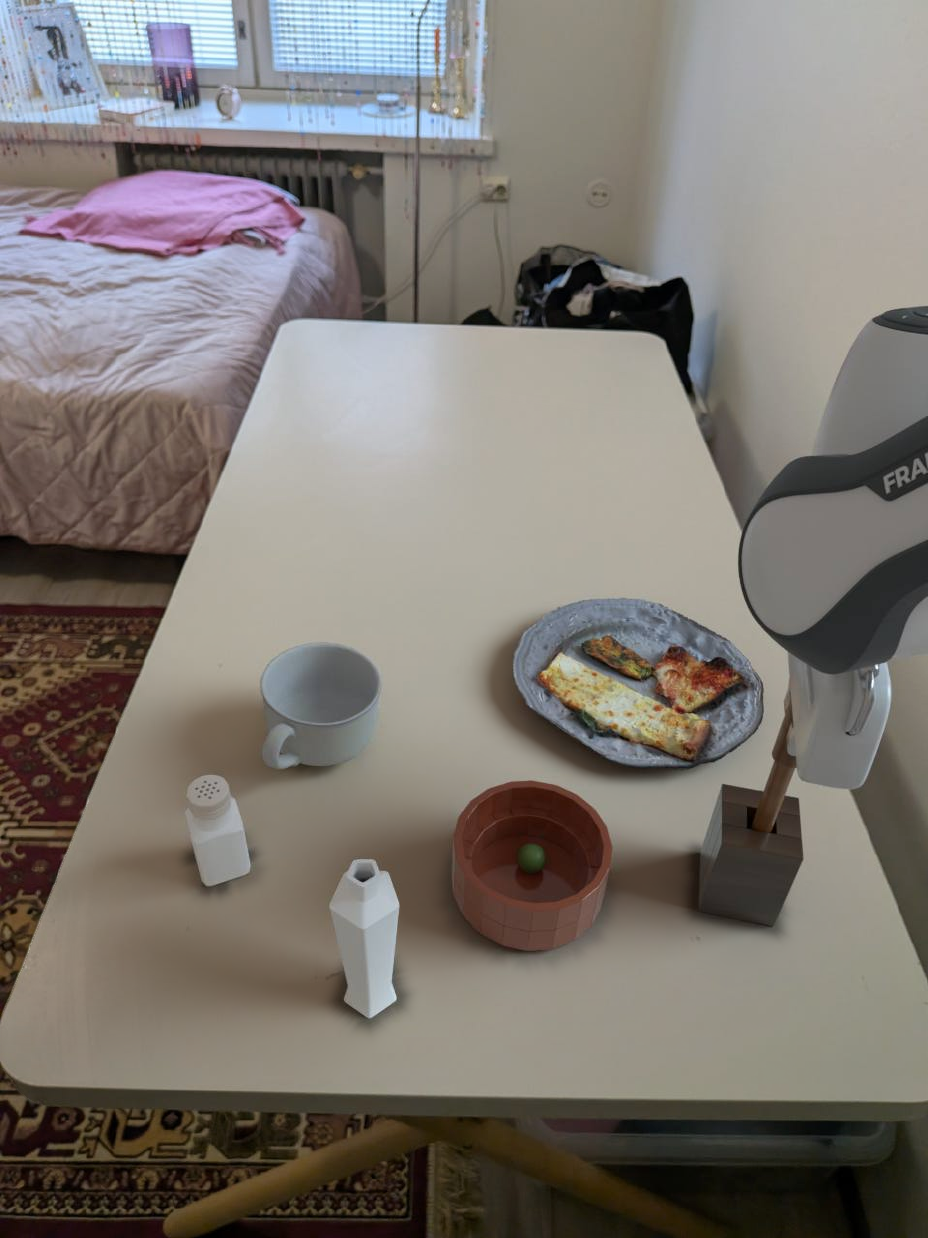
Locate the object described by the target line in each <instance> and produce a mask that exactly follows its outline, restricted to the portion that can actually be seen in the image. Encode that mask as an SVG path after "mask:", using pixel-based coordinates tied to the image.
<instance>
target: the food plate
mask: <svg viewBox="0 0 928 1238" xmlns="http://www.w3.org/2000/svg"><path fill="white" fill-rule="evenodd" d="M668 607H669V606H665V605H663V604H661V603H658V602H653V601H650V600H645V599H644V598H641V599H640V598H627V597H619V598H591V599H582V600H579V601H575V602H571V603H568V604H566V605H563V606H558V607H557V608H556V609H553V610H551V611H550V612H548V613H547V614H546V615H544V616H543V617H542V618H540V619H539V620H538V621H537V622H535V623H534V624H533V625H531V626H530V627H529V628H527V629H526V630H525V631H523V632H522V634H521V635H520V638H519V641H518V644H517V645H516V646H517V647H516V649H515V651H514V652H513V653H514V654H513V661H512V671H513V678H514V680H515V685H516V686H517V689H518V691H519V692H520V694H521V696H522V697H523V699H524V700H525V703H526V705H527V706H528V708H530V709H531V710H533V711H535V712H536V713H537V714H539V715H540V716H542V717H543V718H545V719H546V720H548V721H549V722H550V723H551V724H553V725H555V726H556V728H558V729H561V731H563V732H565V733H566V734H568V735H569V736H570V737H572V738H575V739H576V740H578V742H580V743H582V745H585V746H586V747H589V748H590V749H591V750H593V751H594V752H596V753H597V754H599V755H600V756H601V757H603V758H604V759H607V760H610V761H612V762H615V763H617V764H620V765H621V766H625V767H626V766H628V767H630V768H633V769H643V770H652V769H655V770H658V769H659V770H660V769H663V770H667V769H668V770H673V769H674V770H676V769H678V770H680V769H681V770H689V769H693V768H694V767H695V768H696V767H698V766H700V765H704V764H705V765H706V764H709V763H711V764H712V763H715V762H717V761H719V760H722V759H723V758H725V757H726V756H727V755H729V754H730V753H732V752H734V751H735V750H736V749H738V747H740V746H741V745H742V744H744V743H746V742H747V741H748V740H749V739H750V738H751V737H752V736H754V735H755V734H756V732H757V731H758V729H759V728H760V726H761V724H762V722H763V718H764V712H765V707H764V704H765V703H764V691H765V688H764V683H763V681H762V679H761V677H760V675H759V674H758V673H757V671H756V670H755V669H754V668H753V667H752V664H751V663H752V662H750V661H749V658H747V657H746V656H745V655H744V654H743V653H742V651H740V650H739V648H737V647H736V646H735V644H734V643H733V642H732V641H731V640H730V639H728V638H727V637H725V636H723V635H721V634H718V633H717V632H716V631H714V630H712V629H709V628H708V627H706V626H704V625H702V624H700V623H699V622H697V621H695V620H693V619H691V618H688V616H685V615H684V614H682V613H680V612H677V611H675V610H673V609H671V608H668Z"/></svg>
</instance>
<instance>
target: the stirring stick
mask: <svg viewBox="0 0 928 1238" xmlns="http://www.w3.org/2000/svg"><path fill="white" fill-rule="evenodd" d="M791 722H793V714H792V701H791V699H790V702H789V705H788V707H787V710H786V713H785V712H784V716H783V719H782V722H781V725H780V728H779V731H778V734H777V737H776V739H775V742H774V744H773V745H774V746H773V748H772V751H771V757H772V759H773V764H772V766H771V769H770V772H769V775H768V777H767V780H766V783H765V786H764V789H763V791H764V792H763V794H762V797H761V800H760V803H759V806H758V809H757V811H756V814H755V817H754V820H753V823H752V826H751V828H750V829H752V830H757V831H762V832H767V833H771V831H772V829H773V826H774V823H775V821H776V818H777V815H778V813H779V810H780V807H781V805H782V802H783V799H784V797H785V795H787V791H788V788H789V786H790V784H791V781H792V778H793V775H794V773H795V770H796V769H797V763H796V756H791V755H790V754H788V751H787V733H788V731H789V727H790V725H791Z"/></svg>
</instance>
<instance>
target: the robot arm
mask: <svg viewBox="0 0 928 1238" xmlns="http://www.w3.org/2000/svg"><path fill="white" fill-rule="evenodd" d="M831 388H832V389H831V390H830V394H829V397H828V400H827V402H826V405H825V408H824V410H823V414H822V416H821V420H820V424H819V427H818V429H817V433H816V435H815V439H814V444H813V447H812V451H811V455H805V456H800V457H797V458H795V459H793V460H792V461H789V462H788V463H787V464H786V465H784V467H783V468H782V469H781V471H780V472H778V473H777V474H776V475H775V476H774V478H773V479H772V480H771V481H770V483H769V484H768V485H767V486H766V488H765V489H764V490H763V492H762V493H761V495H760V496H759V497H758V499H757V501H756V502H755V504H754V506H753V508H752V509H751V511H750V513H749V516H747V519H746V522H745V524H744V526H743V529H742V531H741V535H740V539H739V544H738V552H737V553H738V555H737V572H738V579H739V585H740V590H741V593H742V596H743V599H744V602H745V605H746V607H747V609H748V611H749V612H750V614H751V616H752V617H753V619H754V620H755V622H756V623H757V624H758V625H759V626H760V628H761V629H762V630H763V631H764V632H765V633H766V634H767V635H768V636H769V637H770V638H771V639H772V640H773V641H774V642H776V643H777V645H779V646H780V647H781V648H783V650H785V651H786V652H787V662H788V663H787V664H788V676H789V677H788V684H787V686H788V687H787V690H786V693H785V696H784V699H783V710H784V711H783V712H784V714H785V713H786V710H787V707H788V705H789V702H790V699H791V701H792V714H793V722H791V725H790V727H789V731H788V733H787V751H788V754H790V755H791V756H796V763H797V768H796V773H797V776H798V778H799V779H800V780H801V781H803V782H805V783H809V784H813V785H816V786H821V787H825V788H831V789H837V790H838V789H840V790H855V789H859V788H860V787H862V786H863V785H864V784H865V782H866V780H867V778H868V776H869V773H870V770H871V767H872V765H873V762H874V760H875V756H876V755H877V751H878V749H879V746H880V743H881V740H882V737H883V733H884V732H885V728H886V724H887V722H888V717H889V714H890V709H891V705H892V682H891V681H892V679H891V675H890V670H889V666H888V662H889V661H890V660H891V661H892V660H897V659H904V658H910V657H916V656H921V655H922V656H923V655H928V305H921V306H920V305H919V306H912V307H911V306H910V307H901V308H895V309H890V310H887V311H884V312H883V313H881V314H879V315H877V316H874V317H873V318H871V319H869V320H868V322H867V323H866V324H865V325H864V326H863V328H862V329H861V330H860V331H859V333H858V334H857V336H856V338H855V339H854V341H853V342H852V345H851V346H850V347H849V350H848V352H847V354H846V356H845V358H844V360H843V362H842V364H841V366H840V369H839V371H838V374H837V376H836V377H835V381H834V383H833V385H832V387H831Z"/></svg>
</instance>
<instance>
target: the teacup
mask: <svg viewBox="0 0 928 1238" xmlns="http://www.w3.org/2000/svg"><path fill="white" fill-rule="evenodd" d="M260 676H261V677H260V682H259V683H260V685H259V686H260V694H261V697H262V706H263V715H264V722H265V727H266V732H267V735H266V737H265V740H264V742H263V745H262V750H261V757H262V761H263V762H264V764H265V765H266V766H268V767H270V768H273V769H275V770H285V769H287V768H290V767H296V766H298V765H299V764H302V765H307V766H311V767H328V766H335V765H338V764H341V763H345V762H347V761H349V760H351V759H353V758H355V757H357V755H359V754H360V753H362V751H364V749H365V748H366V747H368V745H369V743H370V742H371V740H372V738H373V736H374V734H375V732H376V728H377V725H378V718H379V707H380V696H381V691H382V678H381V677H382V676H381V673H380V671H379V669H378V668H377V665H375V663H373V661H372V660H371V659H370V658H368V656H366V655H365V654H364V653H362V652H361V651H359V650H357V649H355V648H354V647H350V646H347V645H344V644H340V643H334V642H325V641H324V642H323V641H322V642H309V643H308V642H307V643H304V644H300V645H295V646H293V647H291V648H288V649H286V650H284V651H282V652H280V653H279V654H278V655H276V656H275V657H273V658H272V659H271V660H270V662H268V664H266V667H265V668H264V670H263V672H262V674H261V675H260ZM280 753H281V754H280Z"/></svg>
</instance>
